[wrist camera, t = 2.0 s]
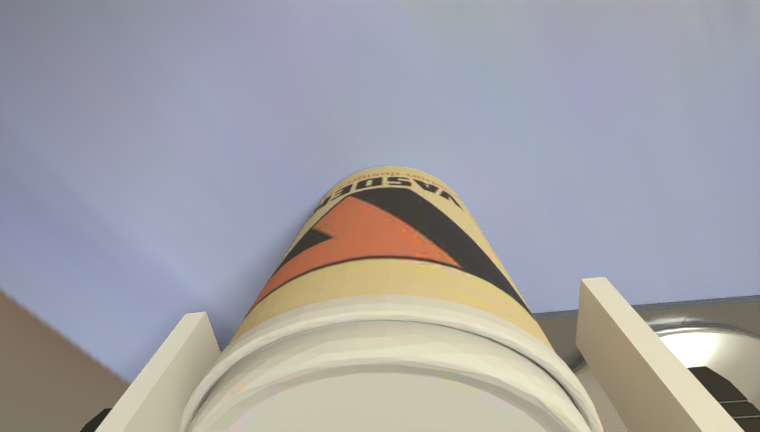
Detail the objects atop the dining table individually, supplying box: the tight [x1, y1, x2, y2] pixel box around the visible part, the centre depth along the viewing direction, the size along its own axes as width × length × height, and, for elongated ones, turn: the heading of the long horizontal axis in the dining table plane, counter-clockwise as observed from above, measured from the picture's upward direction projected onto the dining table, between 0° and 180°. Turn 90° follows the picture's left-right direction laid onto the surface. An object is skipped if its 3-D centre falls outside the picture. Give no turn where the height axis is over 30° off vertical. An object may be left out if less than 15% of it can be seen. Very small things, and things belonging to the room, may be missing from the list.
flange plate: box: [533, 295, 760, 432], centre depth 23 cm, size 16×16×1 cm
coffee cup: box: [178, 166, 603, 432], centre depth 14 cm, size 9×9×12 cm
